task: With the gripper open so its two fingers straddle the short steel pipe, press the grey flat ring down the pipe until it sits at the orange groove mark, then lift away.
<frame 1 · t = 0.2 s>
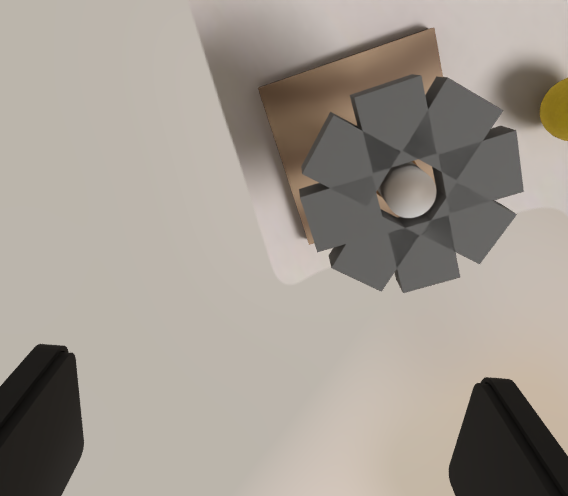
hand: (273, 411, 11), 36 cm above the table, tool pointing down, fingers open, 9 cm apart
grey flat ring: (407, 190, 28), point 17 cm above the table, slide at 0.0 cm
lemon: (552, 104, 43), on the table
pipe stand: (363, 143, 44), on the table
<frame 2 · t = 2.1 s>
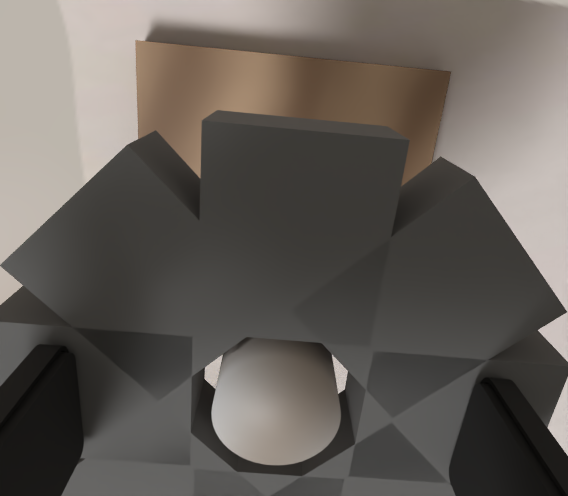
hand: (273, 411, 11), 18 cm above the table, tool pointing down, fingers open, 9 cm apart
grey flat ring: (276, 383, 12), point 17 cm above the table, slide at 0.2 cm, touching gripper
pipe stand: (281, 200, 27), on the table
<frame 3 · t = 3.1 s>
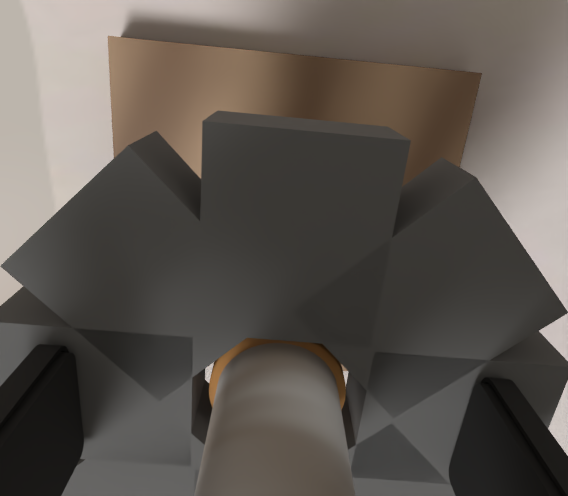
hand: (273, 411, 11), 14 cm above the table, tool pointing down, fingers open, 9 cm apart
grey flat ring: (277, 384, 12), point 13 cm above the table, slide at 4.0 cm, touching gripper
pipe stand: (281, 221, 24), on the table
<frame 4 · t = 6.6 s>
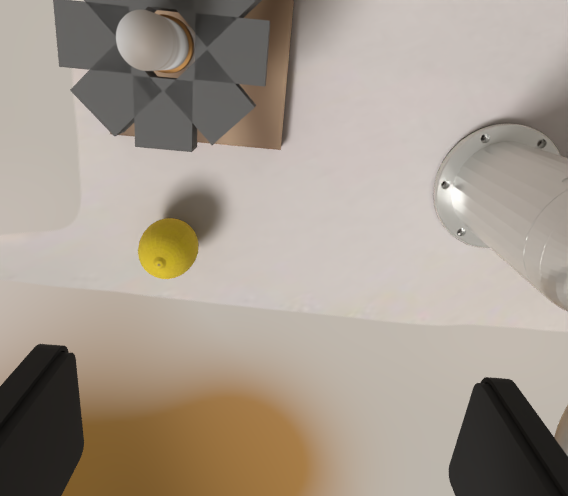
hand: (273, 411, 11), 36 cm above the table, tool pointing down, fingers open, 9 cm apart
grey flat ring: (166, 44, 29), point 13 cm above the table, slide at 4.0 cm
lemon: (178, 232, 48), on the table
pipe stand: (200, 50, 41), on the table
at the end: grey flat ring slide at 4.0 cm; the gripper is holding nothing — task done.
